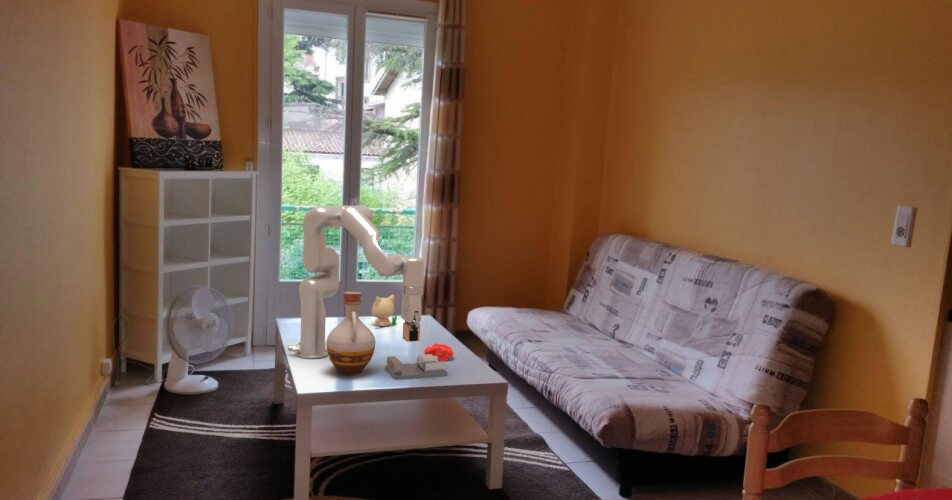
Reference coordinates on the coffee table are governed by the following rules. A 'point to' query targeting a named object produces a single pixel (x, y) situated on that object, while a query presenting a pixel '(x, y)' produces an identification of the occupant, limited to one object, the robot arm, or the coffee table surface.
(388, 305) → the kitten
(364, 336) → the jug
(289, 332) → the coffee table surface
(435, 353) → the animal figurine
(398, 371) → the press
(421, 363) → the light grey sliding block
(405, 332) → the block
